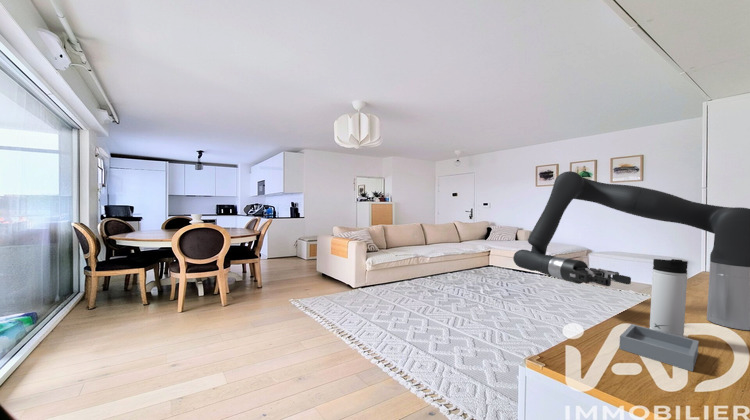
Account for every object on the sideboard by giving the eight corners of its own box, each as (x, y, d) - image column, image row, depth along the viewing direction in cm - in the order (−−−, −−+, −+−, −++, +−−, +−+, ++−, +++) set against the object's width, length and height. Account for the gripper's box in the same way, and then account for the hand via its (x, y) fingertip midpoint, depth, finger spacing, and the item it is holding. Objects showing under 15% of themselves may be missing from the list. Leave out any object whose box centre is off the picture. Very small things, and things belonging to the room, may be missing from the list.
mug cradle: (631, 335, 77) (631, 324, 77) (698, 354, 68) (698, 341, 68) (619, 348, 69) (620, 335, 69) (692, 371, 61) (693, 356, 60)
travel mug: (657, 339, 75) (662, 258, 74) (644, 329, 81) (648, 254, 81) (690, 344, 73) (695, 261, 72) (674, 333, 79) (678, 256, 79)
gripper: (552, 259, 100) (603, 269, 85) (583, 257, 105) (637, 267, 90) (551, 281, 100) (602, 296, 85) (582, 279, 105) (635, 293, 90)
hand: (620, 281), depth 87 cm, fingers open, 8 cm apart
